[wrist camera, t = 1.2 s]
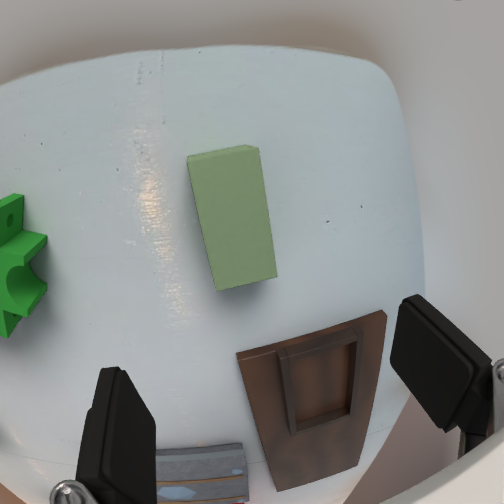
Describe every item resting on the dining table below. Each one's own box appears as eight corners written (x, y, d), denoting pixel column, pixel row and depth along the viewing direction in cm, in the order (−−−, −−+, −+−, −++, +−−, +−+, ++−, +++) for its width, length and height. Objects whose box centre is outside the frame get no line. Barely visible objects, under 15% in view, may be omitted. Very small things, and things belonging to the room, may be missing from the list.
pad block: (246, 144, 22) (258, 147, 18) (264, 255, 25) (277, 277, 22) (187, 156, 21) (186, 161, 17) (211, 267, 25) (216, 291, 21)
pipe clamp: (49, 316, 23) (32, 347, 19) (17, 307, 22) (-2, 335, 18) (49, 199, 20) (23, 216, 16) (13, 192, 19) (-16, 207, 15)
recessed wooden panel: (382, 307, 30) (395, 320, 28) (355, 461, 46) (360, 471, 44) (235, 350, 28) (240, 369, 26) (275, 487, 44) (279, 498, 42)
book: (240, 437, 35) (248, 467, 30) (244, 482, 41) (250, 505, 36) (89, 442, 31) (85, 471, 26) (126, 488, 37) (126, 511, 33)
